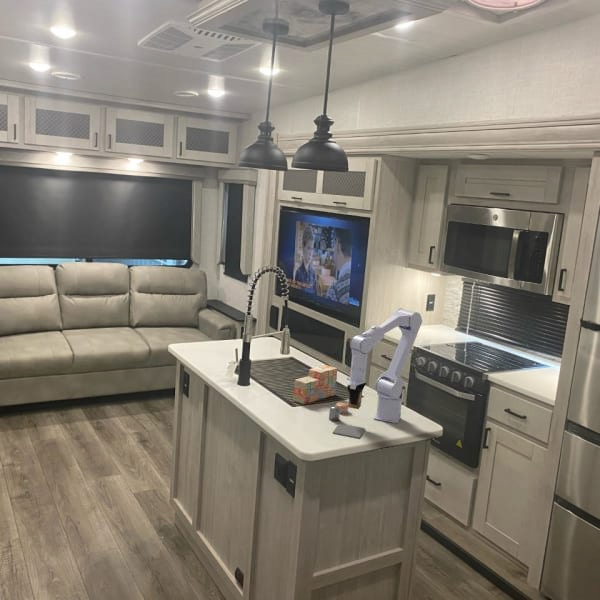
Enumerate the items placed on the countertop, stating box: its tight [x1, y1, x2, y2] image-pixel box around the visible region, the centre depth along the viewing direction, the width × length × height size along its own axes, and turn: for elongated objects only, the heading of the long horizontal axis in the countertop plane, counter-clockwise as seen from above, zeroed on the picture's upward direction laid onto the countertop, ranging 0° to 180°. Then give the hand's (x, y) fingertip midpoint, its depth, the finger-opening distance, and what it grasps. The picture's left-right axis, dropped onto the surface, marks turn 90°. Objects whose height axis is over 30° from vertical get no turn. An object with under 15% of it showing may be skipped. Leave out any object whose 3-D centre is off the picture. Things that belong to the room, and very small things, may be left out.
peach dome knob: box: [335, 402, 349, 415], centre depth 242 cm, size 5×5×3 cm
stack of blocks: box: [292, 364, 338, 405], centre depth 256 cm, size 21×6×12 cm, turn 140°
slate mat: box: [332, 422, 366, 439], centre depth 222 cm, size 10×10×1 cm
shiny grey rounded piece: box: [328, 405, 341, 423], centre depth 232 cm, size 4×4×5 cm
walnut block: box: [347, 391, 363, 410], centre depth 227 cm, size 4×4×6 cm
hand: (354, 402), depth 227 cm, fingers closed on walnut block, 4 cm apart
